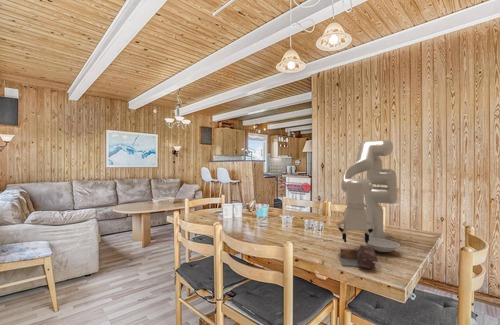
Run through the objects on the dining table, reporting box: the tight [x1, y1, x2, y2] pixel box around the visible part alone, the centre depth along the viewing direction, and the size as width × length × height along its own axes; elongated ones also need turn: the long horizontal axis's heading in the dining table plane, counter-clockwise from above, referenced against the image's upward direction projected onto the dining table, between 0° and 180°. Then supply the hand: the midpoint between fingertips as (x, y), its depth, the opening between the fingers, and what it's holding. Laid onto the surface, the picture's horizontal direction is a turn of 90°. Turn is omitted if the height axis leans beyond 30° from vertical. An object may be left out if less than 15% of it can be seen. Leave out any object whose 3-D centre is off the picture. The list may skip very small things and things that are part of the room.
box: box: [356, 244, 378, 270], centre depth 112 cm, size 6×6×7 cm
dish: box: [362, 238, 401, 253], centre depth 132 cm, size 18×14×5 cm
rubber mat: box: [337, 253, 377, 269], centre depth 120 cm, size 14×14×1 cm
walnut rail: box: [339, 248, 358, 259], centre depth 122 cm, size 13×2×4 cm, turn 79°
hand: (355, 241), depth 120 cm, fingers open, 9 cm apart
